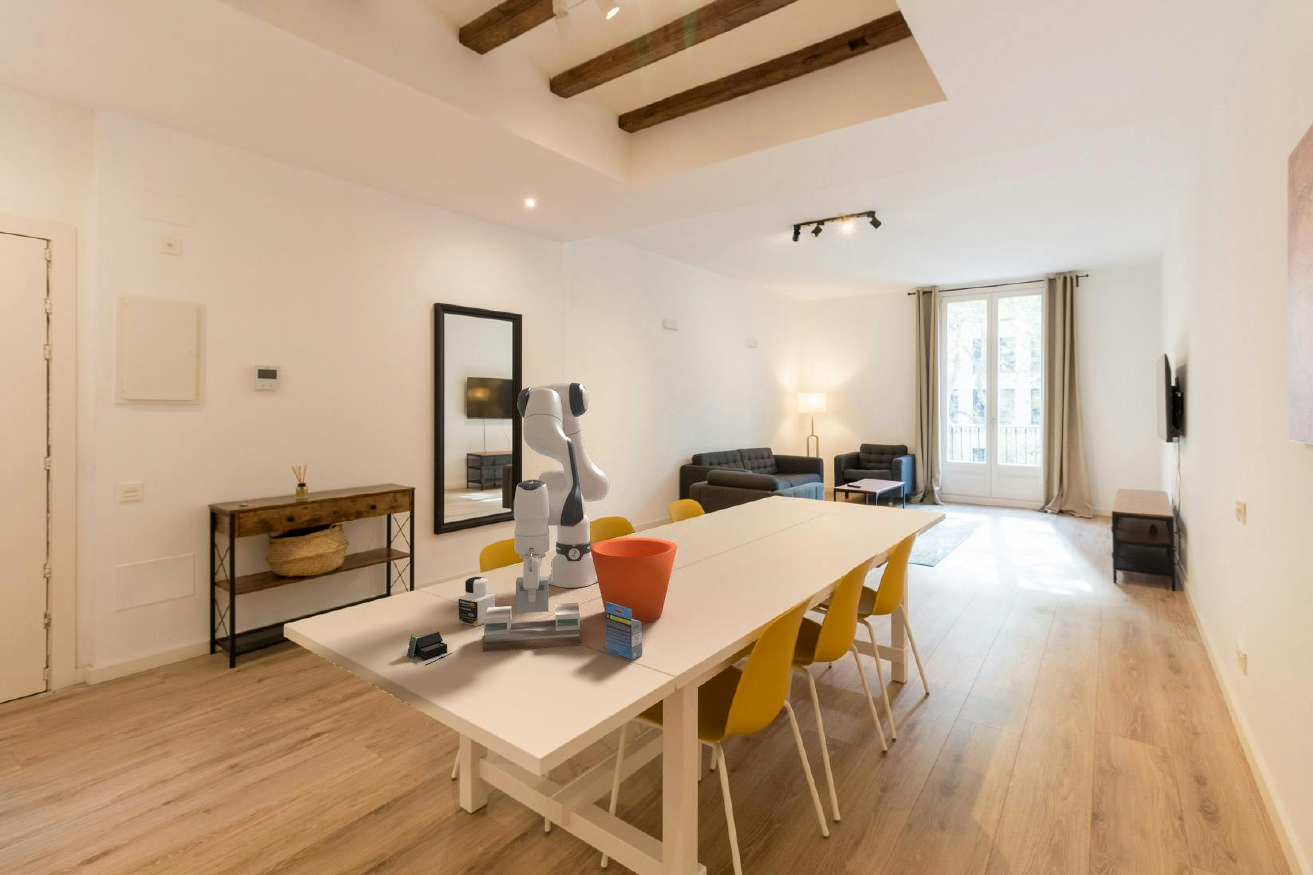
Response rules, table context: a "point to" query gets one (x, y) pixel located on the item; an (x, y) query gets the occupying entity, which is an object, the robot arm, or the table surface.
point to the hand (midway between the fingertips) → (532, 597)
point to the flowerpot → (634, 574)
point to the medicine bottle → (475, 601)
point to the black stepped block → (427, 647)
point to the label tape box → (623, 632)
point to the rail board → (531, 629)
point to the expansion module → (541, 597)
